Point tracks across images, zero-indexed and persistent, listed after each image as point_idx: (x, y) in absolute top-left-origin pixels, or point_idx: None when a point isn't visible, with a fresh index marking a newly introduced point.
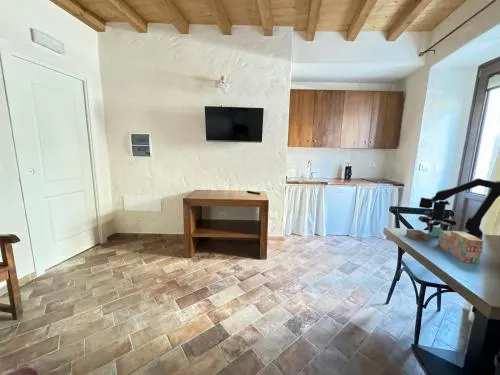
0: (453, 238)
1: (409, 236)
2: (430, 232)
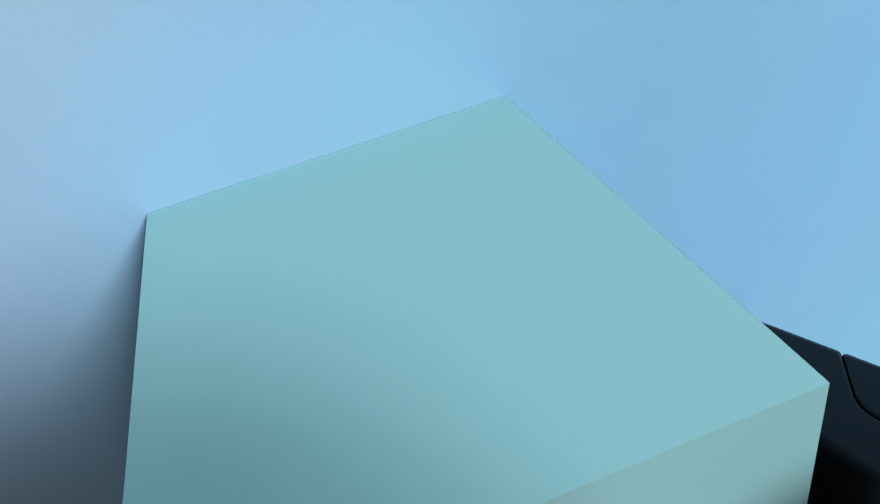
0: None
1: None
2: None
